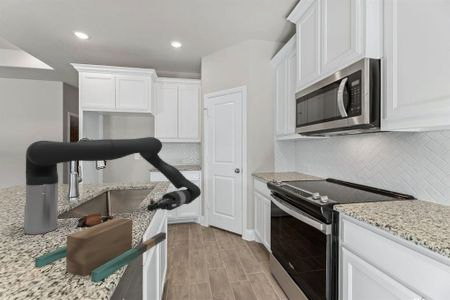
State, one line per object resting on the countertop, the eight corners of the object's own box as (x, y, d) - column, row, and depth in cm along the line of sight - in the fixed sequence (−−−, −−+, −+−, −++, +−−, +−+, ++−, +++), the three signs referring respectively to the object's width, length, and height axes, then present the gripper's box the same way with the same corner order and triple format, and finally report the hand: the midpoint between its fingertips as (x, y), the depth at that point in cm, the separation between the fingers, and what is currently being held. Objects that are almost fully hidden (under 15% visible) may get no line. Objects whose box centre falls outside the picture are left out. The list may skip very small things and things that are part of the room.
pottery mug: (75, 243, 72) (71, 219, 75) (83, 245, 80) (79, 223, 83) (115, 229, 77) (110, 206, 80) (119, 232, 85) (114, 212, 88)
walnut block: (66, 272, 54) (66, 235, 54) (116, 246, 69) (116, 217, 69) (84, 277, 52) (85, 238, 52) (132, 249, 68) (132, 219, 68)
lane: (35, 265, 57) (35, 258, 57) (117, 231, 82) (117, 225, 82) (97, 282, 50) (98, 273, 50) (165, 238, 76) (165, 232, 76)
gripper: (161, 190, 102) (135, 196, 86) (187, 192, 98) (164, 199, 82) (161, 206, 102) (134, 216, 86) (186, 209, 98) (164, 220, 82)
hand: (149, 208), depth 84 cm, fingers closed
